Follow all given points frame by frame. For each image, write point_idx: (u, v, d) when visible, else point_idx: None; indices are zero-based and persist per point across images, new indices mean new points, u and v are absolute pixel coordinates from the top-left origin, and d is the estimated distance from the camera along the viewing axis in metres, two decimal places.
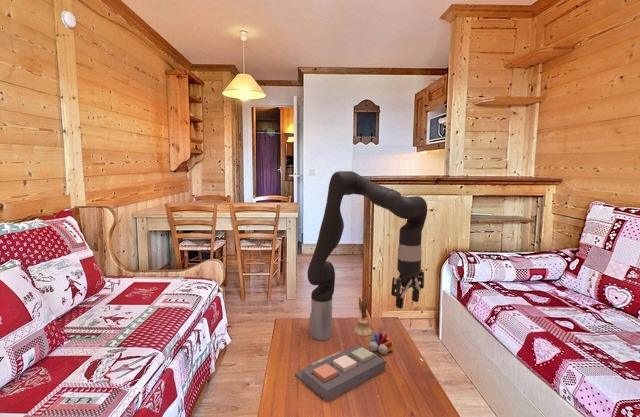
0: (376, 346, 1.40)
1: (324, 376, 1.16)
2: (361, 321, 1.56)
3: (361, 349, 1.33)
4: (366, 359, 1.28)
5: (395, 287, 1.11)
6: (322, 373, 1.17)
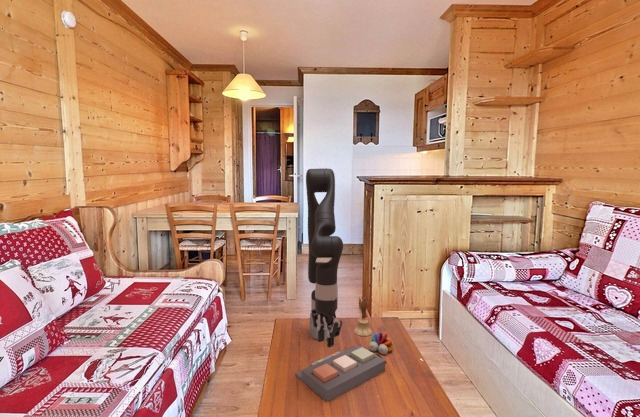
0: (376, 346, 1.41)
1: (324, 376, 1.16)
2: (361, 321, 1.56)
3: (361, 349, 1.33)
4: (366, 359, 1.28)
5: (338, 330, 1.13)
6: (322, 373, 1.17)
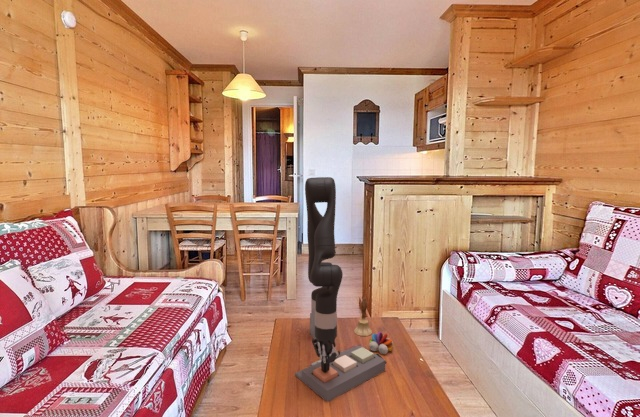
0: (376, 346, 1.41)
1: (324, 377, 1.16)
2: (361, 321, 1.56)
3: (361, 349, 1.33)
4: (366, 359, 1.28)
5: (335, 358, 1.15)
6: (322, 374, 1.17)
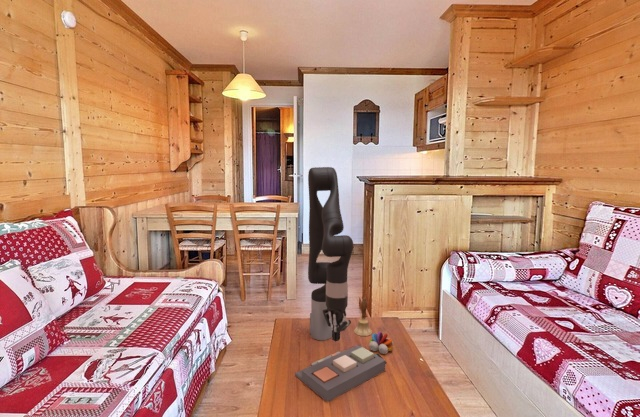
0: (376, 346, 1.41)
1: (324, 379, 1.16)
2: (361, 321, 1.56)
3: (361, 349, 1.33)
4: (366, 359, 1.28)
5: (345, 327, 1.17)
6: (322, 376, 1.18)
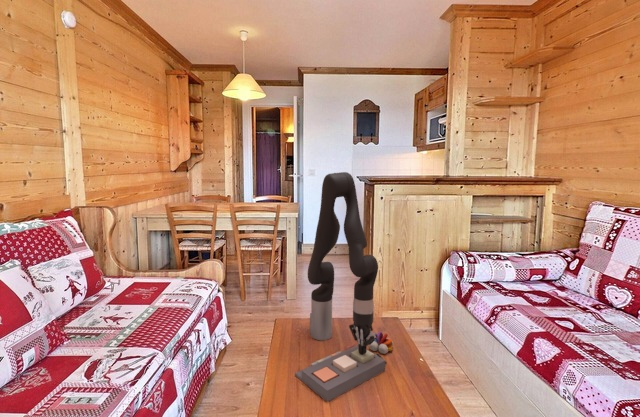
0: (376, 346, 1.41)
1: (324, 379, 1.16)
2: None
3: None
4: (366, 359, 1.28)
5: (372, 341, 1.26)
6: (322, 376, 1.18)
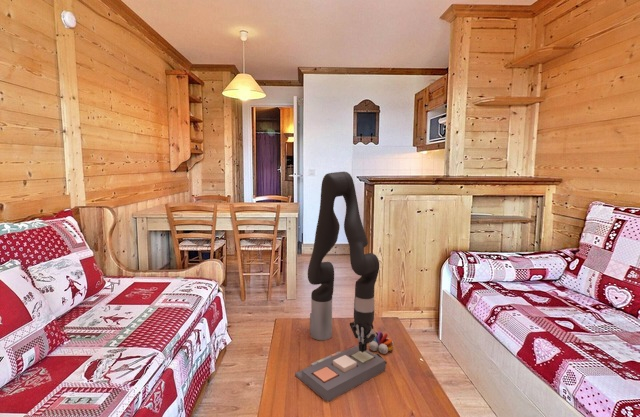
0: (376, 345, 1.41)
1: (324, 379, 1.16)
2: None
3: (361, 352, 1.33)
4: None
5: (373, 339, 1.26)
6: (322, 376, 1.18)
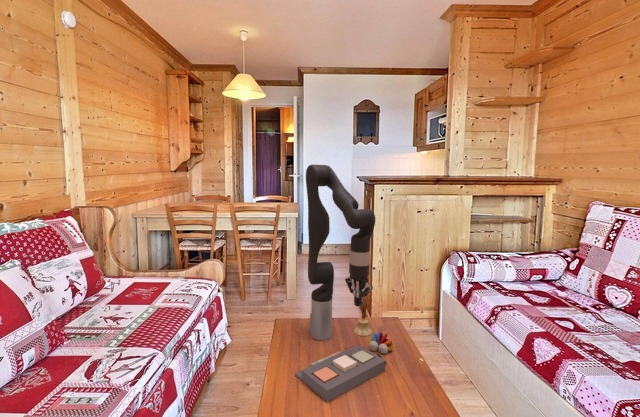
0: (376, 345, 1.41)
1: (324, 379, 1.16)
2: (361, 321, 1.56)
3: (361, 352, 1.33)
4: None
5: (367, 293, 1.29)
6: (322, 376, 1.18)
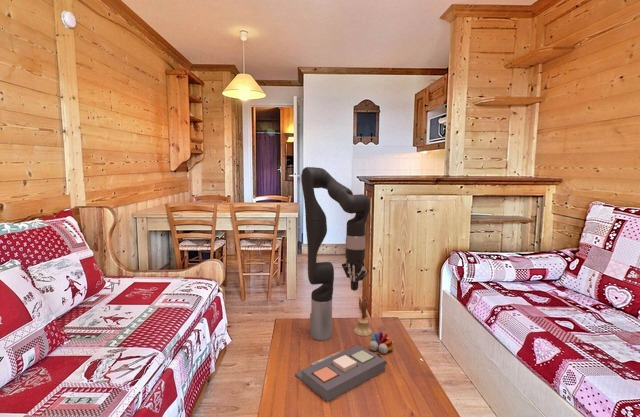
0: (376, 345, 1.41)
1: (324, 379, 1.16)
2: (361, 321, 1.56)
3: (361, 352, 1.33)
4: None
5: (363, 276, 1.31)
6: (322, 376, 1.18)
